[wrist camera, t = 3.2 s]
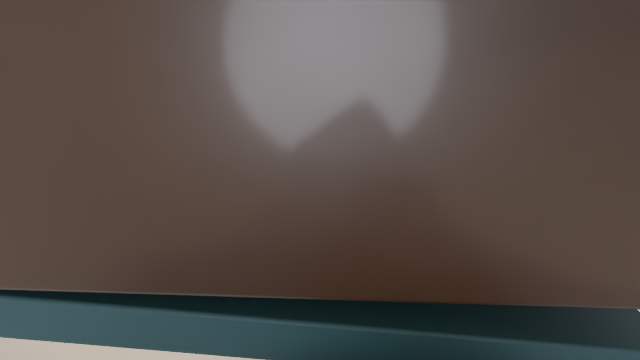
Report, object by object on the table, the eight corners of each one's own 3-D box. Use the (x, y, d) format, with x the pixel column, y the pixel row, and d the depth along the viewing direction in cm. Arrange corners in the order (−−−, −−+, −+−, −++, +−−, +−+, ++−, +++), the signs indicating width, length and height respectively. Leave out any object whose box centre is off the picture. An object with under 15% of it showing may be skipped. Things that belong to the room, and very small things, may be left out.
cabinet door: (434, 288, 15) (553, 562, 7) (164, 264, 15) (-25, 517, 7) (467, 163, 13) (694, 356, 5) (150, 134, 12) (-148, 284, 5)
